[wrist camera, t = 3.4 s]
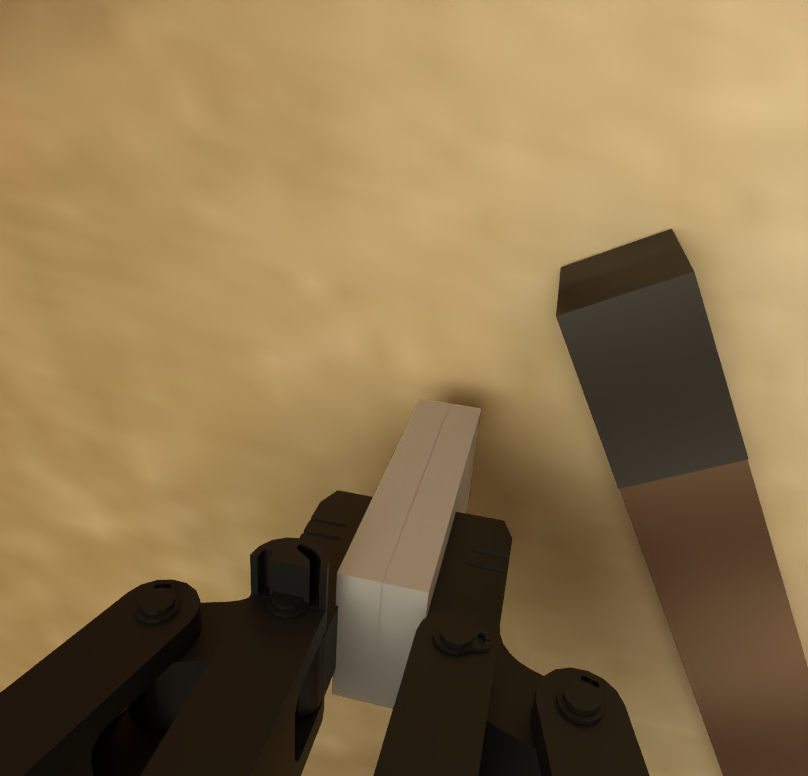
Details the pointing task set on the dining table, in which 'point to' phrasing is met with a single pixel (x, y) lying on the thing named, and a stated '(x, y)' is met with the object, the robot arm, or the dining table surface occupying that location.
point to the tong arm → (690, 496)
